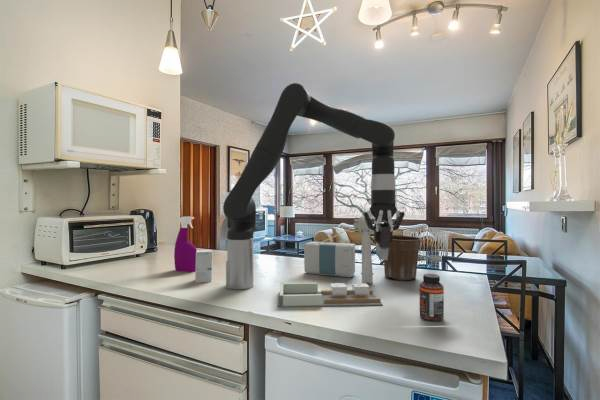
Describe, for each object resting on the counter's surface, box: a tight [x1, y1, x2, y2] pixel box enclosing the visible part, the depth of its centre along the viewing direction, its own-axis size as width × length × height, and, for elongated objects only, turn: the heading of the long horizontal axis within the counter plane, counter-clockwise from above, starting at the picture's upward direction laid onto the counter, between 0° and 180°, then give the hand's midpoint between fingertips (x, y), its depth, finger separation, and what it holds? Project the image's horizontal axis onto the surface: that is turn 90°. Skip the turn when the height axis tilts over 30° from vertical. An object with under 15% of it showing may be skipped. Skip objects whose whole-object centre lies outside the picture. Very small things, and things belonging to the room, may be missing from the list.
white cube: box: [329, 282, 348, 298], centre depth 99 cm, size 4×4×4 cm
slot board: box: [277, 289, 384, 308], centre depth 99 cm, size 31×14×1 cm, turn 93°
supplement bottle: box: [419, 273, 445, 322], centre depth 83 cm, size 6×6×11 cm
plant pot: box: [383, 235, 423, 281], centre depth 128 cm, size 16×16×16 cm
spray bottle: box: [173, 215, 198, 273], centre depth 136 cm, size 3×11×24 cm, turn 74°
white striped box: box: [303, 227, 356, 278], centre depth 133 cm, size 21×8×20 cm, turn 67°
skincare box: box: [194, 249, 214, 283], centre depth 120 cm, size 6×4×12 cm
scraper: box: [374, 221, 391, 261], centre depth 101 cm, size 3×6×11 cm, turn 2°
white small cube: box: [351, 282, 370, 298], centre depth 100 cm, size 4×4×4 cm
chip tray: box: [279, 282, 322, 306], centre depth 99 cm, size 12×14×3 cm
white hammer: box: [353, 216, 374, 285], centre depth 119 cm, size 5×7×25 cm
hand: (383, 242), depth 100 cm, fingers closed on scraper, 3 cm apart
